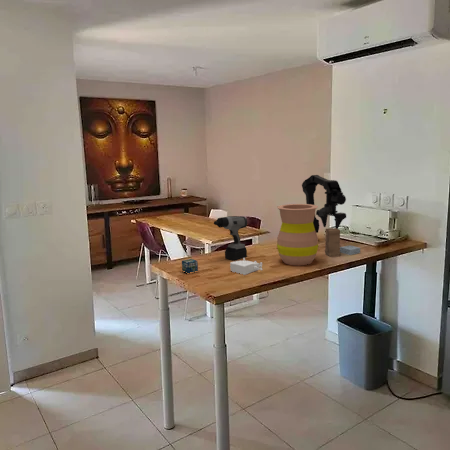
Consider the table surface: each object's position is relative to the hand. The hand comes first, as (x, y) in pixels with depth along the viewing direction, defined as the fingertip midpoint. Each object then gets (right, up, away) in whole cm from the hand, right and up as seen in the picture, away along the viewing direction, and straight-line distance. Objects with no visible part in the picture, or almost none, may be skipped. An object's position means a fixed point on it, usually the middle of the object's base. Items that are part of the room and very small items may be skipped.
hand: (330, 228), depth 251 cm
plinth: (+10, -14, -6) cm, 18 cm away
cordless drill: (-59, -18, -11) cm, 62 cm away
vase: (-23, -18, -21) cm, 36 cm away
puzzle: (-80, -22, -33) cm, 89 cm away
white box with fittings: (-50, -21, -33) cm, 64 cm away
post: (-1, -15, -10) cm, 18 cm away
